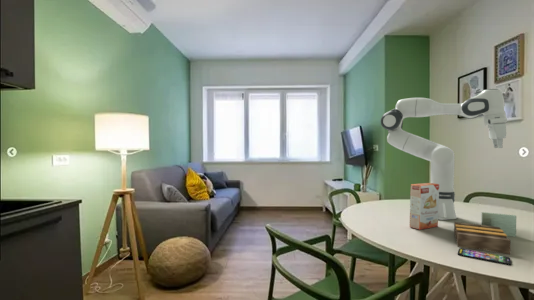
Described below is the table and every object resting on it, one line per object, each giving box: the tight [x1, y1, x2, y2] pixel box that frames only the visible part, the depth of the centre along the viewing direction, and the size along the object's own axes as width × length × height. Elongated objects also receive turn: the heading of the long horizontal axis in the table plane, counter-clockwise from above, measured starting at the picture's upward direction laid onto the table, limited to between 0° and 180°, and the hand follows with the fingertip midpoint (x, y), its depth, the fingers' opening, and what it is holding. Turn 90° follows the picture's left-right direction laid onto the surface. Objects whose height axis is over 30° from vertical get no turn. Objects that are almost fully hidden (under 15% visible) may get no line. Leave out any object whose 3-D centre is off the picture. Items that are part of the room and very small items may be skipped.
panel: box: [480, 211, 517, 238], centre depth 130 cm, size 12×2×9 cm, turn 61°
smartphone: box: [457, 247, 512, 266], centre depth 104 cm, size 8×1×15 cm
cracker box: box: [409, 182, 439, 231], centre depth 141 cm, size 14×6×21 cm, turn 118°
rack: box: [453, 221, 511, 255], centre depth 119 cm, size 16×20×5 cm
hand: (498, 147), depth 147 cm, fingers open, 8 cm apart
